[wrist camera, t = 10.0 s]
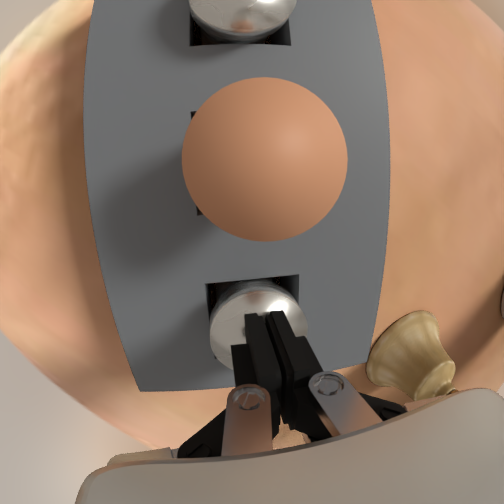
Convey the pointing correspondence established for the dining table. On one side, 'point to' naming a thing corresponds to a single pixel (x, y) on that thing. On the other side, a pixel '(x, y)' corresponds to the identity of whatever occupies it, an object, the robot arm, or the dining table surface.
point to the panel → (184, 208)
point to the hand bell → (412, 358)
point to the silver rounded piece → (248, 312)
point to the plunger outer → (239, 19)
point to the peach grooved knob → (264, 159)
